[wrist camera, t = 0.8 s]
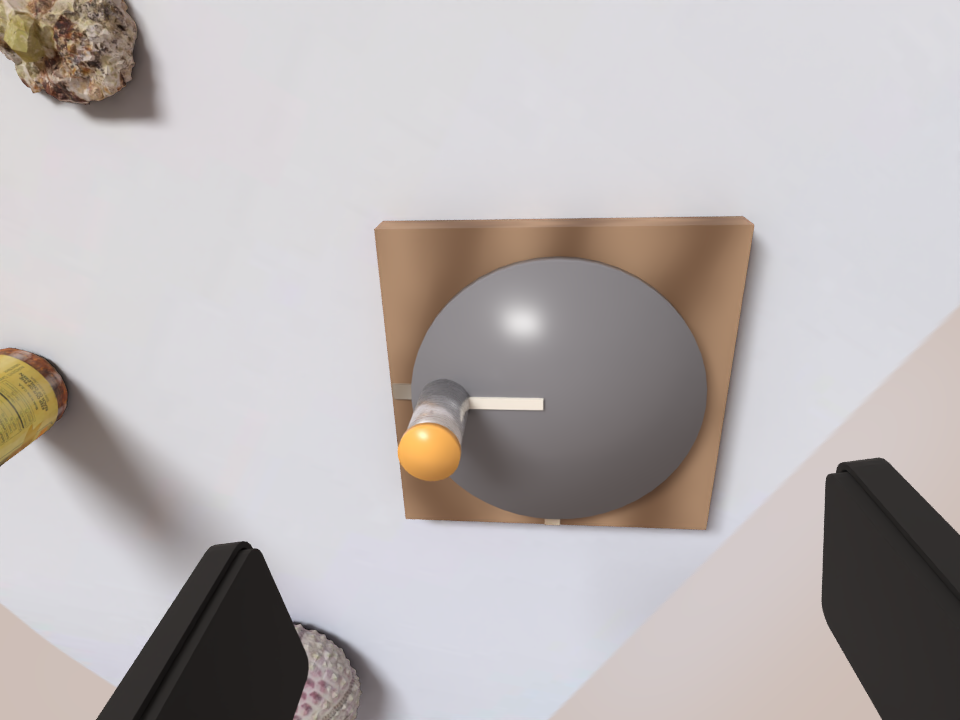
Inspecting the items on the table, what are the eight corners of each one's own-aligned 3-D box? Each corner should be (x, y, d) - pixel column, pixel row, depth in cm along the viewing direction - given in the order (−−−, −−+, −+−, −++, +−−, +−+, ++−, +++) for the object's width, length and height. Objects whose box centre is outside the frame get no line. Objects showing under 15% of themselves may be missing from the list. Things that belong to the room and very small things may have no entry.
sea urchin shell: (215, 693, 56) (166, 786, 48) (220, 588, 50) (165, 676, 42) (357, 727, 56) (329, 825, 48) (378, 626, 50) (350, 720, 43)
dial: (721, 255, 32) (762, 297, 26) (685, 513, 39) (711, 593, 33) (402, 257, 34) (371, 297, 28) (424, 504, 41) (404, 578, 35)
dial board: (742, 216, 33) (755, 225, 31) (698, 509, 42) (706, 531, 40) (382, 221, 35) (373, 230, 33) (411, 500, 44) (405, 520, 42)
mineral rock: (145, -18, 29) (71, 130, 30) (186, 15, 33) (120, 144, 35) (-69, -160, 28) (-137, 1, 29) (3, -106, 32) (-59, 32, 33)
